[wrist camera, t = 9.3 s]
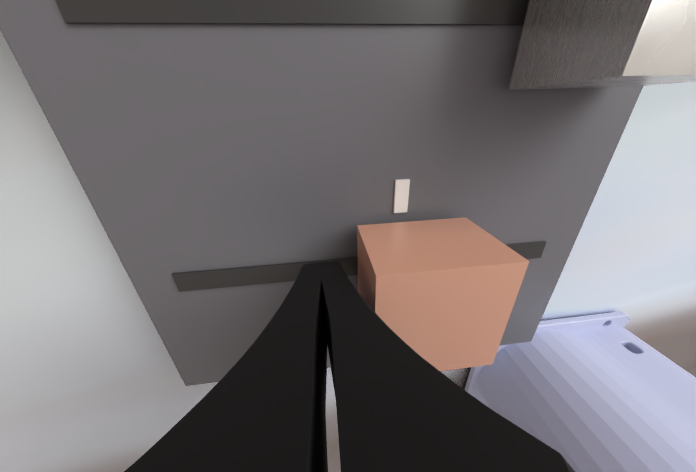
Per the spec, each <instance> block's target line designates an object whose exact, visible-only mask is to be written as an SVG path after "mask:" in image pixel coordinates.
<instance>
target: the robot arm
mask: <svg viewBox="0 0 696 472" xmlns="http://www.w3.org/2000/svg"><path fill="white" fill-rule="evenodd" d="M628 320H629V316H628V315H626V314H625V313H623V312H611V313H602V314H594V315H586V316H578V317H569V318H561V319H553V320H544V321H540V323H539V325H538V327H537V329H536V332H535V334H534V336H533V339H532V341H531V342H523V343H515V344H508V345H500V346H499V348H498V350H497V353H496V356H495V359H494V362H493V364H491V365H484V366H476V367H471V370H470V373H469V377H468V380H467V383H466V387H465V390H464V389H462V388H461V387H459V386H458V385H457V384H455V383H454V382H453V381H452V380H450V379H449V378H448V377H446V376H445V375H444V374H443V373H441V372H440V371H439V370H438V369H436V368H435V367H434V366H432V365H431V364H430V363H429V362H427V361H426V360H425V359H424V358H422V357H421V356H420V355H419V354H418V353H416V352H415V351H414V350H413V349H412V348H411V347H410V346H409V345H407V344H406V343H405V342H404V341H403V340H402V339H401V338H400V337H399V336H398V335H397V334H396V333H395V332H393V331H392V330H391V329H390V328H389V327H388V326H387V325H386V324H385V322H384V321H383V320H382V319H381V318H380V317H379V316H378V315H377V314H376V313H375V312H374V310H373V309H372V308H371V307H370V306H369V305H368V303H367V302H366V301H365V300H364V299H363V297H362V296H361V295H360V293H359V292H358V291H357V289H356V288H355V287H354V285H353V284H352V283H351V281H350V279H349V278H348V276H347V275H346V273H345V271H344V270H343V268H342V266H341V264H340V263H339V262H338V261H335V262H323V263H312V264H304V265H303V266H302V268H301V270H300V272H299V275H298V277H297V279H296V280H295V282H294V284H293V286H292V288H291V289H290V291H289V293H288V294H287V296H286V298H285V299H284V301H283V303H282V304H281V306H280V307H279V309H278V310H277V312H276V313H275V314H274V316H273V317H272V319H271V320H270V322H269V323H268V324H267V326H266V327H265V329H264V330H263V331H262V332H261V334H260V335H259V336H258V338H257V339H256V340H255V341H254V343H253V344H252V345H251V346H250V347H249V349H248V350H247V351H246V352H245V353H244V355H243V356H242V357H241V358H240V359H239V360H238V362H237V363H236V364H235V365H234V366H233V367H232V368H231V369H230V370H229V371H228V373H227V374H226V375H225V376H224V377H223V378H222V379H221V380H220V381H219V382H218V383H217V384H216V386H215V387H214V388H213V389H212V390H211V391H210V392H209V393H208V394H207V395H206V396H205V397H204V398H203V399H202V400H201V401H200V402H199V403H198V404H197V405H196V406H195V407H194V408H193V409H191V410H190V411H189V412H188V413H187V414H186V415H185V416H184V417H183V418H182V419H181V420H180V421H179V422H178V423H177V424H176V425H175V426H174V427H173V428H172V429H171V430H170V431H168V432H167V433H166V434H165V435H164V436H163V437H162V438H161V439H160V440H159V441H158V442H157V443H156V444H155V445H154V446H153V447H151V448H150V449H149V450H148V451H147V452H146V453H145V454H144V455H143V456H142V457H141V458H139V459H138V460H137V461H136V462H135V463H134V464H133V465H131V466H130V467H129V468H128V469H127V470H126V471H124V472H328V464H327V441H326V418H325V401H326V373H327V345H328V351H329V358H330V364H331V371H332V377H333V384H334V390H335V396H336V406H337V420H338V434H339V448H340V462H341V472H696V378H695V377H694V376H692V375H691V374H690V373H688V372H687V371H685V370H684V369H682V368H681V367H680V366H678V365H677V364H675V363H674V362H672V361H671V360H669V359H668V358H667V357H665V356H664V355H662V354H661V353H659V352H658V351H657V350H655V349H654V348H652V347H651V346H649V345H648V344H646V343H645V342H644V341H642V340H641V339H639V338H638V337H636V336H635V335H634V334H632V333H631V332H629V331H628V330H626V329H625V328H624V327H625V325H626V324H627V322H628Z"/></svg>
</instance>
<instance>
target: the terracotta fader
mask: <svg viewBox="0 0 696 472" xmlns="http://www.w3.org/2000/svg"><path fill="white" fill-rule="evenodd" d="M357 256H358V292H359V293H360V295H361V296H362V297H363V299H364V300H365V301H366V302H367V303H368V305H369V306H370V307H371V308H372V309H373V310H374V312H375V313H376V314H377V315H378V316H379V317H380V318H381V319H382V320H383V321H384V322H385V324H386V325H387V326H388V327H389V328H390V329H391V330H392V331H393V332H395V333H396V334H397V335H398V336H399V337H400V338H401V339H402V340H403V341H404V342H405V343H406V344H407V345H409V346H410V347H411V348H412V349H413V350H414V351H415V352H416V353H418V354H419V355H420V356H421V357H422V358H424V359H425V360H426V361H427V362H429V363H430V364H431V365H432V366H434V367H435V368H436V369H438V370H439V371H447V370H454V369H461V368H469V367H476V366H484V365H491V364H493V362H494V359H495V356H496V353H497V350H498V348H499V345H500V342H501V339H502V337H503V334H504V331H505V328H506V325H507V323H508V320H509V317H510V314H511V311H512V309H513V306H514V303H515V300H516V297H517V295H518V292H519V289H520V286H521V284H522V281H523V278H524V275H525V272H526V270H527V267H528V264H529V261H528V260H527V259H525V258H524V257H522V256H521V255H520V254H518V253H517V252H515V251H514V250H512V249H511V248H509V247H508V246H507V245H505V244H504V243H502V242H501V241H499V240H498V239H496V238H495V237H494V236H492V235H491V234H489V233H488V232H486V231H485V230H483V229H482V228H481V227H479V226H478V225H476V224H475V223H473V222H472V221H470V220H469V219H468V218H466V217H463V218H450V219H436V220H423V221H409V222H396V223H382V224H369V225H357Z"/></svg>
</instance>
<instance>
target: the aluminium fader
mask: <svg viewBox="0 0 696 472" xmlns="http://www.w3.org/2000/svg"><path fill="white" fill-rule="evenodd" d="M694 81H696V0H529V4H528V8H527V12H526V17H525V21H524V26H523V30H522V34H521V39H520V43H519V47H518V52H517V56H516V60H515V65H514V69H513V74H512V78H511V82H510V87H509V90H513V89H557V88H600V87H633V86H645V85H658V84H670V83H682V82H694Z"/></svg>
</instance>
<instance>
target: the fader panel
mask: <svg viewBox="0 0 696 472" xmlns="http://www.w3.org/2000/svg"><path fill="white" fill-rule="evenodd" d="M528 4H529V0H0V29H1V31H2V33H3V35H4V37H5V39H6V41H7V43H8V45H9V47H10V49H11V50H12V52H13V54H14V56H15V58H16V60H17V62H18V64H19V66H20V68H21V70H22V72H23V74H24V75H25V77H26V79H27V81H28V83H29V85H30V87H31V89H32V91H33V93H34V95H35V97H36V99H37V100H38V102H39V104H40V106H41V108H42V110H43V112H44V114H45V116H46V118H47V120H48V122H49V124H50V125H51V127H52V129H53V131H54V133H55V135H56V137H57V139H58V141H59V143H60V145H61V147H62V149H63V150H64V152H65V154H66V156H67V158H68V160H69V162H70V164H71V166H72V168H73V170H74V172H75V173H76V175H77V177H78V179H79V181H80V183H81V185H82V187H83V189H84V191H85V193H86V195H87V197H88V198H89V200H90V202H91V204H92V206H93V208H94V210H95V212H96V214H97V216H98V218H99V220H100V222H101V223H102V225H103V227H104V229H105V231H106V233H107V235H108V237H109V239H110V241H111V243H112V245H113V247H114V248H115V250H116V252H117V254H118V256H119V258H120V260H121V262H122V264H123V266H124V268H125V270H126V272H127V273H128V275H129V277H130V279H131V281H132V283H133V285H134V287H135V289H136V291H137V293H138V295H139V297H140V298H141V300H142V302H143V304H144V306H145V308H146V310H147V312H148V314H149V316H150V318H151V320H152V322H153V323H154V325H155V327H156V329H157V331H158V333H159V335H160V337H161V339H162V341H163V343H164V345H165V347H166V348H167V350H168V352H169V354H170V356H171V358H172V360H173V362H174V364H175V366H176V368H177V370H178V372H179V373H180V375H181V377H182V379H183V381H184V383H185V385H186V386H188V385H196V384H204V383H212V382H219V381H220V380H221V379H222V378H223V377H224V376H225V375H226V374H227V373H228V371H229V370H230V369H231V368H232V367H233V366H234V365H235V364H236V363H237V362H238V360H239V359H240V358H241V357H242V356H243V355H244V353H245V352H246V351H247V350H248V349H249V347H250V346H251V345H252V344H253V343H254V341H255V340H256V339H257V338H258V336H259V335H260V334H261V332H262V331H263V330H264V329H265V327H266V326H267V324H268V323H269V322H270V320H271V319H272V317H273V316H274V314H275V313H276V312H277V310H278V309H279V307H280V306H281V304H282V303H283V301H284V299H285V298H286V296H287V294H288V293H289V291H290V289H291V288H292V286H293V284H294V282H295V280H296V279H297V277H298V275H299V272H300V270H301V268H302V266H303V265H304V264H312V263H323V262H335V261H338V262H339V263H340V264H341V266H342V268H343V270H344V271H345V273H346V275H347V276H348V278H349V279H350V281H351V283H352V284H353V285H354V287H355V288H356V289H357V291H358V256H357V225H369V224H382V223H396V222H409V221H423V220H436V219H450V218H463V217H466V218H468V219H469V220H470V221H472V222H473V223H475V224H476V225H478V226H479V227H481V228H482V229H483V230H485V231H486V232H488V233H489V234H491V235H492V236H494V237H495V238H496V239H498V240H499V241H501V242H502V243H504V244H505V245H507V246H508V247H509V248H511V249H512V250H514V251H515V252H517V253H518V254H520V255H521V256H522V257H524V258H525V259H527V260H528V261H529V264H528V267H527V270H526V272H525V275H524V278H523V281H522V284H521V286H520V289H519V292H518V295H517V297H516V300H515V303H514V306H513V309H512V311H511V314H510V317H509V320H508V323H507V325H506V328H505V331H504V334H503V337H502V339H501V342H500V345H508V344H515V343H523V342H531V341H532V339H533V336H534V334H535V332H536V329H537V327H538V325H539V323H540V320H541V318H542V316H543V313H544V311H545V309H546V307H547V304H548V302H549V300H550V297H551V295H552V293H553V291H554V288H555V286H556V284H557V282H558V279H559V277H560V275H561V272H562V270H563V268H564V266H565V263H566V261H567V259H568V256H569V254H570V252H571V250H572V247H573V245H574V243H575V240H576V238H577V236H578V234H579V231H580V229H581V227H582V224H583V222H584V220H585V218H586V215H587V213H588V211H589V208H590V206H591V204H592V202H593V199H594V197H595V195H596V193H597V190H598V188H599V186H600V183H601V181H602V179H603V177H604V174H605V172H606V170H607V167H608V165H609V163H610V161H611V158H612V156H613V154H614V151H615V149H616V147H617V145H618V142H619V140H620V138H621V135H622V133H623V131H624V129H625V126H626V124H627V122H628V119H629V117H630V115H631V113H632V110H633V108H634V106H635V104H636V101H637V99H638V97H639V94H640V92H641V90H642V88H643V86H633V87H600V88H557V89H513V90H509V87H510V82H511V78H512V74H513V69H514V65H515V60H516V56H517V52H518V47H519V43H520V39H521V34H522V30H523V26H524V21H525V17H526V12H527V8H528ZM500 345H499V346H500ZM328 367H331V364H330V358H329V351H328V345H327V368H328Z"/></svg>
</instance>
